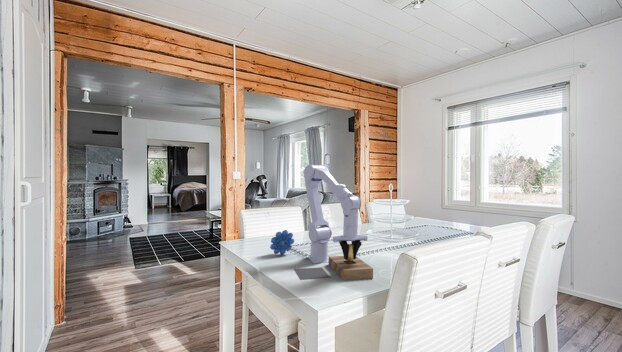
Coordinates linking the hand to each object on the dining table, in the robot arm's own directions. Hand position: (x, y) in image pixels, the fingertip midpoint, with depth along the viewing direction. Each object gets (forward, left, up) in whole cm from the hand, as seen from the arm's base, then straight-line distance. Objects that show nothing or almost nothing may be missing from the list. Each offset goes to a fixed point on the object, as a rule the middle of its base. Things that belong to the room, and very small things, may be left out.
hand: (349, 258), depth 118 cm
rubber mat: (0, -16, -5) cm, 17 cm away
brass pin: (0, 0, -3) cm, 3 cm away
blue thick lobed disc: (-30, -23, -6) cm, 38 cm away
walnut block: (0, 0, -5) cm, 5 cm away
